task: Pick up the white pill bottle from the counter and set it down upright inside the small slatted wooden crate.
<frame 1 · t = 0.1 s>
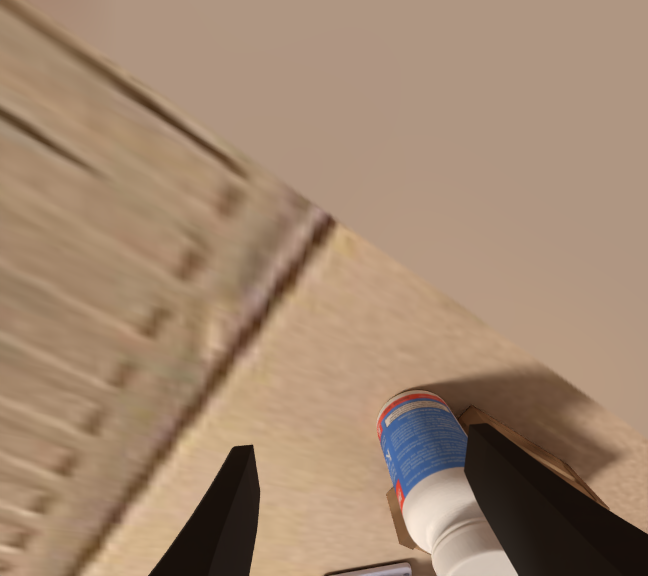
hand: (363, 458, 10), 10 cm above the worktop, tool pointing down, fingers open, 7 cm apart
pill bottle: (410, 417, 23), on the worktop
crate: (477, 479, 25), on the worktop
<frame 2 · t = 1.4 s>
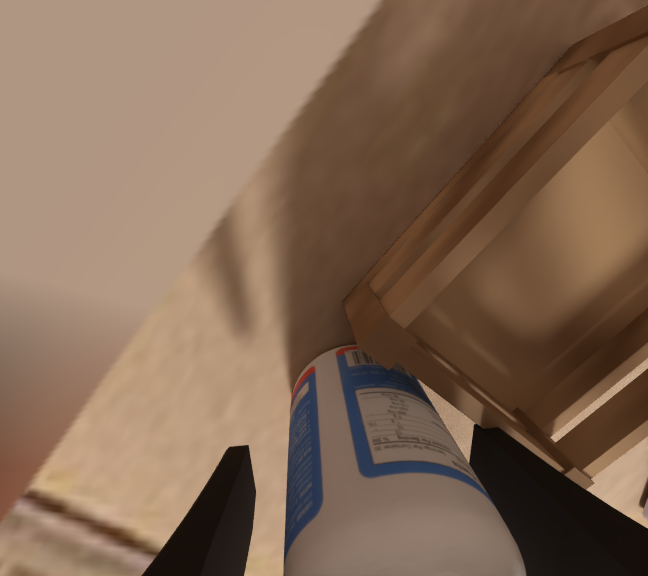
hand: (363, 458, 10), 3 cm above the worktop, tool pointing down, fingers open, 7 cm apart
pill bottle: (354, 392, 14), on the worktop
crate: (532, 273, 12), on the worktop
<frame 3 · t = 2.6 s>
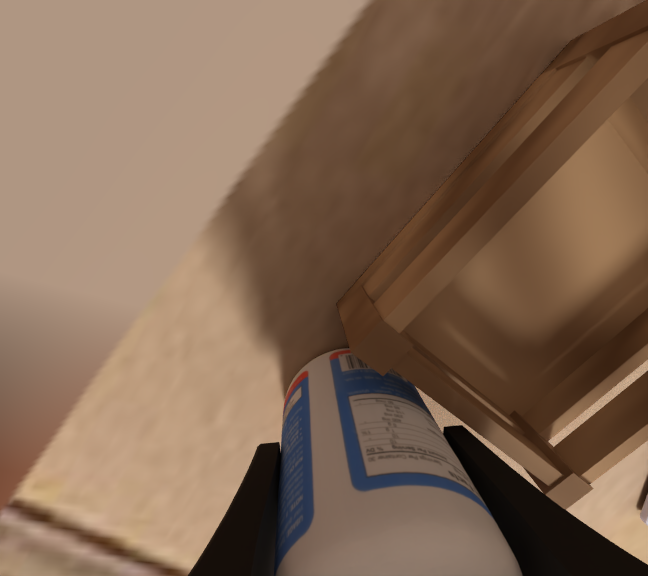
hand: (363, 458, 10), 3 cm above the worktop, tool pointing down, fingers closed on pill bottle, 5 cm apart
pill bottle: (349, 397, 13), on the worktop, touching gripper
crate: (529, 274, 12), on the worktop
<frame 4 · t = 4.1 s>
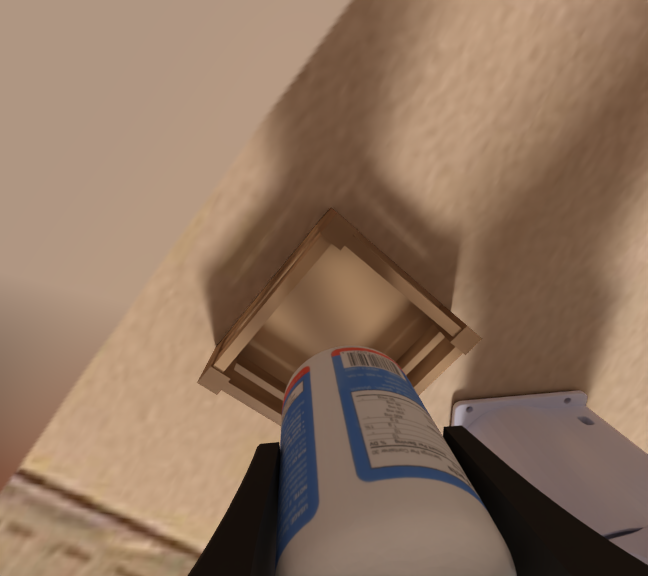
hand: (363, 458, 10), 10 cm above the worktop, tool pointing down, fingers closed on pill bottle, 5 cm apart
pill bottle: (346, 394, 14), point 6 cm above the worktop, touching gripper
crate: (334, 329, 20), on the worktop
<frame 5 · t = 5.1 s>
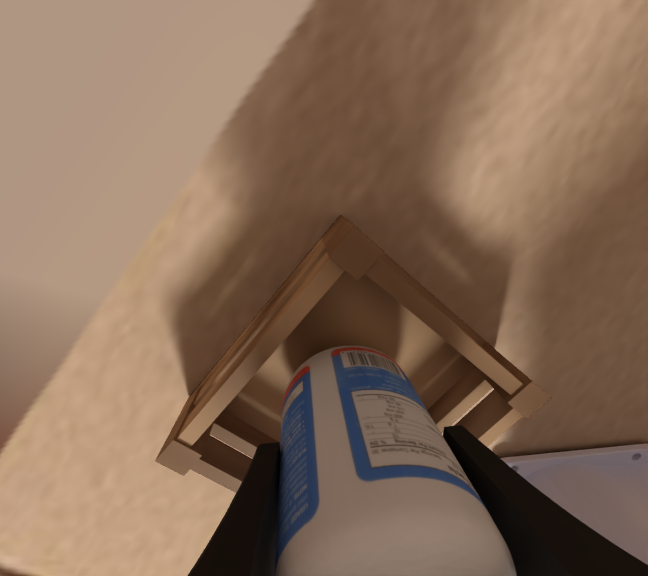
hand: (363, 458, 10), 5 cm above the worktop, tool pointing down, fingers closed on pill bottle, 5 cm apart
pill bottle: (346, 393, 14), point 1 cm above the worktop, touching gripper
crate: (343, 373, 15), on the worktop
when the fingers open (5 cm above the worktop, at t = 5.8 s): pill bottle drops 1 cm, resting on crate.
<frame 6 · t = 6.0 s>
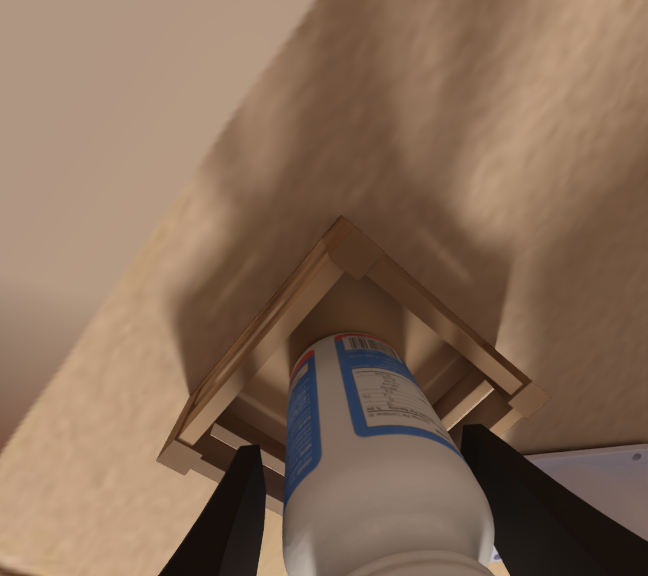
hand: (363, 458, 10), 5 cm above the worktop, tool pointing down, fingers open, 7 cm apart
pill bottle: (348, 378, 15), resting on crate
crate: (344, 373, 15), on the worktop
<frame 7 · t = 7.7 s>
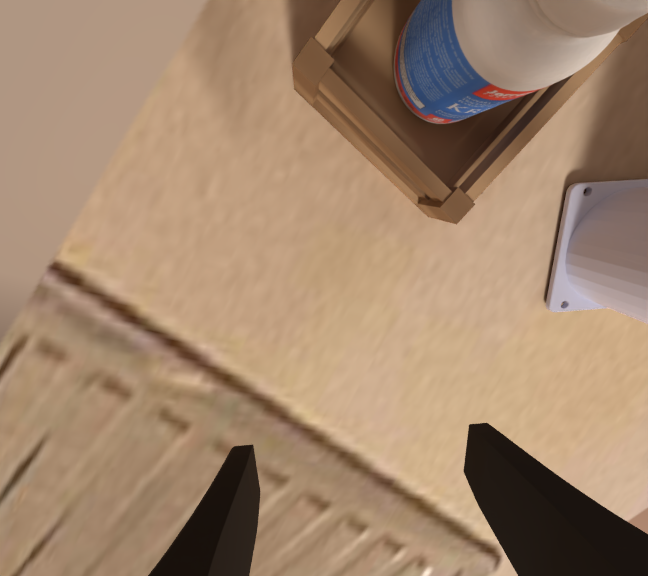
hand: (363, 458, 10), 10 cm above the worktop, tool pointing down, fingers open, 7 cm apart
pill bottle: (443, 66, 16), resting on crate
crate: (437, 69, 16), on the worktop
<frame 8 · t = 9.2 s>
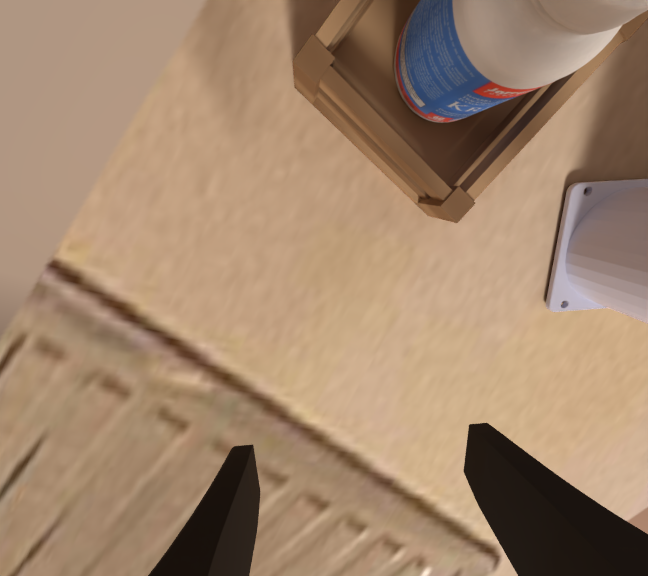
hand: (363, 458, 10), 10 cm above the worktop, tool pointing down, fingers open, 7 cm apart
pill bottle: (444, 65, 16), resting on crate
crate: (438, 68, 16), on the worktop
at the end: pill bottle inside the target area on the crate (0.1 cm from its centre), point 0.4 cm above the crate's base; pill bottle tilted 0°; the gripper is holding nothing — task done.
